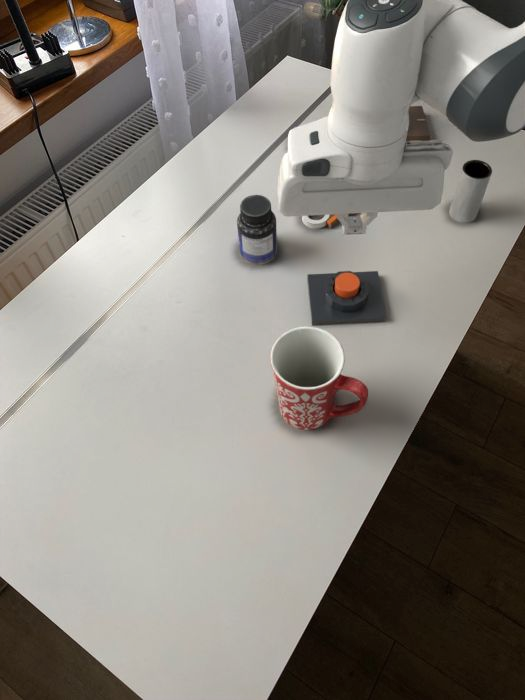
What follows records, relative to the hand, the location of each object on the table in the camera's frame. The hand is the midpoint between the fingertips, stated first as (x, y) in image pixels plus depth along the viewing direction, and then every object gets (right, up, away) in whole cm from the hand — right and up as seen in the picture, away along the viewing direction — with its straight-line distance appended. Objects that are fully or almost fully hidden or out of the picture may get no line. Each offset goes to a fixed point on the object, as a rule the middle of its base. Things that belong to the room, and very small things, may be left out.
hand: (353, 231), depth 80 cm
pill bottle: (-13, 0, +19) cm, 23 cm away
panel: (+13, +25, +35) cm, 45 cm away
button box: (+1, -9, +13) cm, 16 cm away
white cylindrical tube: (+22, +7, +23) cm, 32 cm away
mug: (-5, -25, +3) cm, 25 cm away
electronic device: (+1, +9, +25) cm, 26 cm away
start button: (0, -7, +10) cm, 12 cm away
